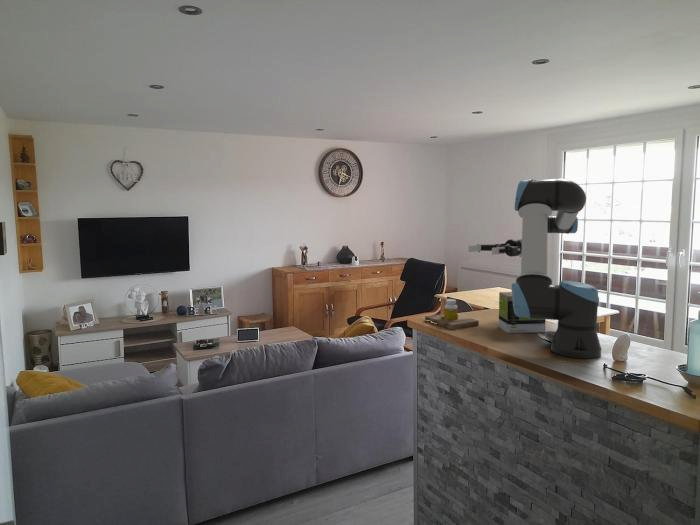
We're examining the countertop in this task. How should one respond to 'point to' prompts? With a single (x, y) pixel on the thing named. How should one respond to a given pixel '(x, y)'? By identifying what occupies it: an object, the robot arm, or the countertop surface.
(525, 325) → the tea box
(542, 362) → the countertop surface
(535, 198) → the robot arm
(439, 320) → the u-shaped block
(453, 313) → the supplement bottle
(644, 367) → the countertop surface
